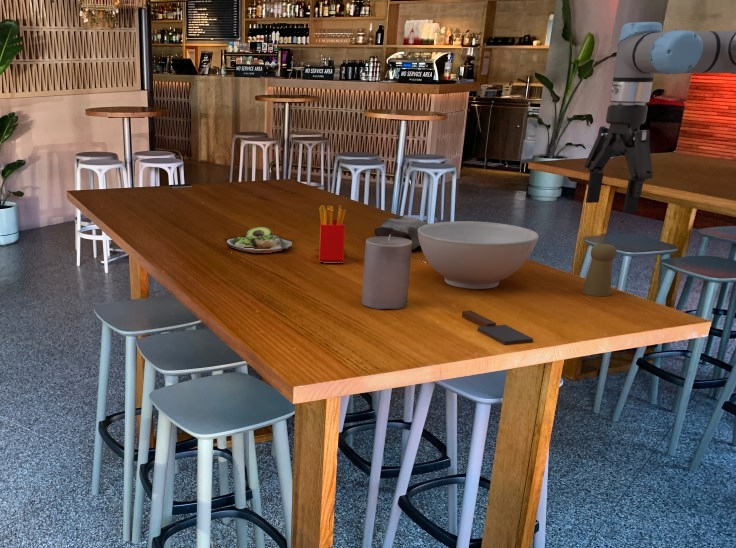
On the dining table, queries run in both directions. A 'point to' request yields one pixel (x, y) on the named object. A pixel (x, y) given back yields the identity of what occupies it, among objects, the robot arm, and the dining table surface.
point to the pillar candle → (386, 272)
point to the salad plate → (259, 241)
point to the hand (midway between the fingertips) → (610, 207)
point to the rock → (401, 228)
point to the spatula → (496, 329)
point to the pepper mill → (600, 270)
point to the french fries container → (331, 235)
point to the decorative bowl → (476, 251)
